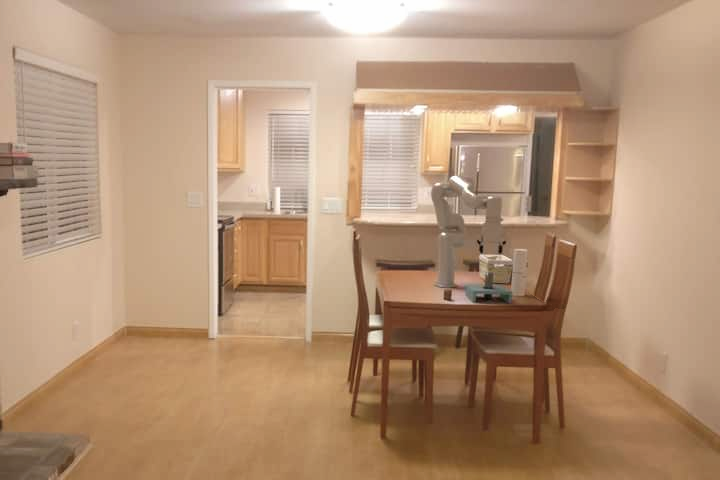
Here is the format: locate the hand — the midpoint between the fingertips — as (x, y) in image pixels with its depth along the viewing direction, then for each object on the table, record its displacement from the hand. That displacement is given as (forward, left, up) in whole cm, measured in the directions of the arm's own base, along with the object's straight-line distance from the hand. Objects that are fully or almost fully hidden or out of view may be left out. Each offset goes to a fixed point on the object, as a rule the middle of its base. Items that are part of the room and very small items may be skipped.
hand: (490, 253), depth 291 cm
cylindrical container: (-13, +20, -25) cm, 34 cm away
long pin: (0, 0, -24) cm, 24 cm away
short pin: (+3, -22, -24) cm, 33 cm away
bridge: (0, 0, -24) cm, 24 cm away
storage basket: (-55, +19, -25) cm, 63 cm away
